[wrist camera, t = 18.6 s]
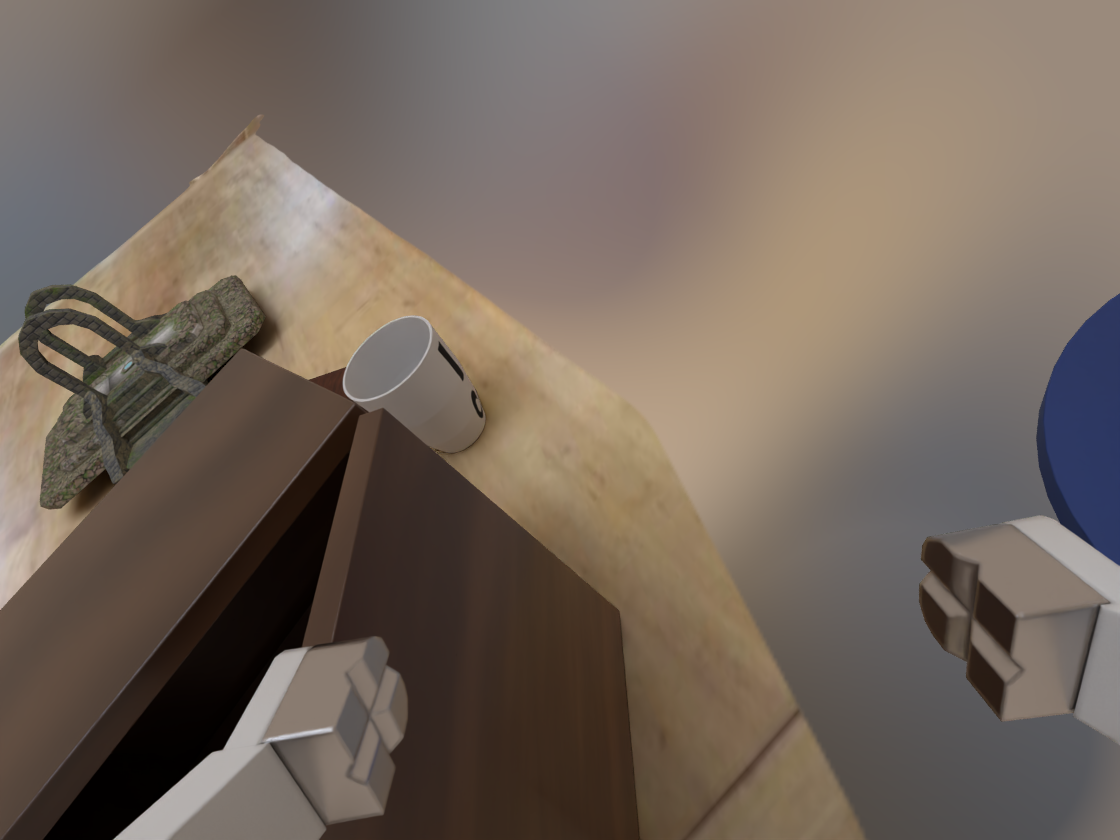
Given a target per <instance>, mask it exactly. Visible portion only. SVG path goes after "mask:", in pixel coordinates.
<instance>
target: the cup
mask: <svg viewBox="0 0 1120 840" xmlns="http://www.w3.org/2000/svg"><path fill="white" fill-rule="evenodd" d="M343 389H344V392H345V394H346V395H347V396H348V397H349V398H350V399H351V400H353V401H354V402H356V403H357V404H358V405H360V406H361V407H363V408H364V409H365V410H367V411H368V412H372V411H374V410H377V409H380V408H385V409H386V410H387V411H388V412H389V413H390V414H391V415H393V416H394V417H395V418H396V419H397V420H398V421H400V422H401V423H402V424H403V425H404V426H405V427H407V428H408V429H409V430H410V431H411V432H412V433H414V434H415V435H416V436H417V437H418V438H419V439H420V440H422V441H423V442H424V443H425V444H426V445H427V446H429V447H432V448H435V449H438V450H441V451H444V452H447V453H456V452H459V451H462V450H464V449H466V448H467V447H469V446H470V445H471V444H473V443H474V442H475V441H476V440H477V438H478V437H479V436H480V434H481V433H482V431H483V428H484V426H485V421H486V416H485V412H484V410H483V407H482V404H481V402H480V399H479V397H478V394H477V391H476V389H475V388H474V386H473V384H472V382H471V381H470V379H469V377H468V376H467V374H466V372H465V371H464V369H463V367H462V366H461V364H460V362H459V361H458V359H457V358H456V356H455V355H454V354H453V353H452V351H451V350H450V349H449V347H448V346H447V345H446V344H445V342H444V341H443V340H442V338H441V337H440V336H439V335H438V333H437V332H436V331H435V329H434V328H433V327H432V326H431V324H430V323H429V322H428V321H427V320H426V319H425V318H423V317H420V316H405V317H401V318H398V319H395V320H393V321H391V322H389V323H387V324H385V325H384V326H382V327H381V328H379V329H378V330H376V331H375V332H374V333H373V334H371V335H370V336H369V337H368V338H367V339H366V340H365V341H364V342H363V343H362V344H361V345H360V347H359V348H358V349H357V350H356V352H355V353H354V354H353V356H352V358H351V359H350V361H349V363H348V365H347V367H346V370H345V373H344V377H343Z"/></svg>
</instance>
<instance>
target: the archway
mask: <svg viewBox="0 0 1120 840" xmlns="http://www.w3.org/2000/svg"><path fill="white" fill-rule="evenodd" d="M61 299H76V300H79V301H82V302H86V303H89V304H91V305H92V306H94V307H95V308H97V309H98V310H100V311H101V312H103V313H104V314H106V315H107V316H109V317H110V318H112V319H113V320H115V321H116V322H118V323H119V324H121V325H122V326H124V327H125V328H127V329H128V330H129V331H131V332H132V333H131V334H130V335H129V336H128V337H125V336H124V335H122V334H121V333H120V332H118V331H117V330H115V329H114V328H112V327H111V326H109V325H108V324H106V323H105V322H103V321H102V320H100V319H99V318H97V317H95V316H92V315H89V314H85V313H82V312H79V311H76V310H73V309H49V310H46V311H44V309H45V306H46V304H49V303H52V302H55V301H58V300H61ZM25 318H26V319H25V321H24V323H23V326H22V328H21V331H20V333H19V337H18V340H19V348H20V354H21V355H22V357H23V358H24V359H25V360H26V361H27V362H28V363H29V364H30V366H31V367H32V368H33V369H34V370H35V371H36V372H37V373H39V374H40V375H42V376H44V377H46V378H48V379H50V380H51V381H53V382H55V383H57V384H59V385H61V386H62V387H64V388H66V389H68V390H70V391H72V392H73V393H75V394H73V395H72V396H71V397H70V398H69V399H68V401H67V402H66V403H65V405H64V406H63V412H62V413H61V415H60V416H59V418H58V421H57V422H56V424H55V425H54V427H53V428H52V430H51V431H50V432H49V434H48V435H47V437H46V444H45V454H44V464H43V474H42V484H41V494H40V505H41V507H44V508H47V509H59V508H62V507H63V506H64V505H65V504H66V503H68V502H69V501H70V500H71V499H72V498H73V497H74V496H75V495H77V494H78V493H79V492H80V491H81V490H82V489H83V488H84V487H86V486H87V485H88V484H89V483H90V482H91V481H92V480H93V479H95V478H96V477H97V476H98V475H99V474H100V473H101V472H102V471H104V470H105V469H106V470H107V472H108V474H109V476H110V478H111V481H112V483H113V484H117V483H118V482H119V481H120V479H121V478H122V477H123V476H124V475H125V474H126V473H127V472H128V471H129V470H130V469H131V468H132V466H133V465H134V464H135V463H136V462H137V461H138V460H139V459H140V458H141V457H142V456H143V454H144V453H145V452H146V451H147V450H148V449H149V448H150V447H151V446H152V445H153V444H154V442H155V441H156V440H157V439H158V438H159V437H160V436H161V435H162V434H163V433H164V432H165V431H166V429H167V428H168V427H169V426H170V425H171V424H172V423H173V422H174V421H175V420H176V419H177V417H178V416H179V415H180V414H181V413H182V412H183V411H184V410H185V409H186V408H187V407H188V405H189V404H190V403H191V402H192V401H193V400H194V399H195V398H196V397H197V396H198V395H199V394H200V392H201V391H202V390H203V389H204V388H205V387H206V386H207V385H208V382H207V378H208V377H209V376H210V375H212V374H213V373H214V372H215V371H216V370H217V369H218V368H219V367H220V366H222V365H223V364H224V363H225V362H226V361H227V360H228V359H229V358H230V357H232V356H233V355H234V354H235V353H236V352H237V351H238V350H239V349H240V348H241V347H243V346H244V345H245V344H246V343H247V342H248V341H249V340H250V339H251V338H253V337H254V336H255V335H256V334H257V333H258V332H259V329H260V327H261V325H262V323H263V321H264V319H265V315H264V314H263V312H262V311H261V309H260V308H259V306H258V305H257V303H256V302H255V300H254V299H253V297H252V296H251V294H250V293H249V291H248V290H247V288H246V287H245V285H244V284H243V282H242V281H241V280H240V279H239V278H238V277H237V276H230V277H227V278H224V279H221V280H220V281H219V282H218V283H216V284H215V285H214V286H213V287H211V288H210V289H209V290H205V291H203V292H200V293H197V294H196V295H195V296H194V297H192V298H191V299H190V300H189V301H184V302H181V303H179V304H178V305H176V306H175V307H174V308H173V309H172V310H171V311H169V312H168V313H166V314H162V315H155V316H151V317H148V318H145V319H142V320H133V319H132V318H131V317H129V316H128V315H126V314H125V313H123V312H122V311H121V310H119V309H118V308H116V307H115V306H113V305H112V304H111V303H109V302H108V301H106V300H105V299H103V298H102V297H101V296H99V295H98V294H96V293H94V292H91V291H88V290H86V289H83V288H80V287H77V286H74V285H51V286H48V287H45V288H42V289H39V290H36V291H34V292H32V293H31V295H30V297H29V300H28V302H27V304H26V307H25ZM69 324H74V325H77V326H81V327H84V328H87V329H90V330H92V331H93V332H95V333H97V334H98V335H100V336H101V337H103V338H104V339H106V340H108V341H109V342H111V343H112V344H114V345H116V347H115V348H114V349H113V350H112V351H111V352H109V353H108V354H107V355H106V356H105V357H104V358H101V357H100V356H99V355H92V356H87V355H86V354H84V353H83V352H81V351H79V350H78V349H76V348H75V347H73V346H71V345H70V344H68V343H66V342H65V341H63V340H62V339H60V338H58V337H57V336H55V335H54V334H52V333H51V332H50V331H49V330H48V329H49V328H52V327H55V326H58V325H69ZM38 340H39V341H40V342H41V343H43V344H44V345H46V346H48V347H50V348H51V349H53V350H55V351H56V352H58V353H60V354H62V355H63V356H65V357H67V358H68V359H70V360H72V361H74V362H75V363H77V364H79V365H80V366H82V367H84V371H83V382H82V381H80V380H79V379H77V378H75V377H74V376H72V375H70V374H69V373H67V372H65V371H63V370H62V369H60V368H58V367H57V366H55V365H53V364H51V363H50V362H48V361H47V360H46V359H45V357H44V356H43V355H42V354H41V353H40V352H39V350H38Z"/></svg>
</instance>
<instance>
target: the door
mask: <svg viewBox="0 0 1120 840" xmlns="http://www.w3.org/2000/svg"><path fill="white" fill-rule="evenodd" d="M371 636H376V637H381V638H382V639H383V641H384V643H385V645H386V646H387V648H388V650H389V652H390V654H389V657H388V660H387V664H386V665H387V666H389V667H391V668H392V669H394V670H396V671H397V672H399V673H400V675H401V677H402V679H403V681H404V683H405V686H406V691H407V695H408V721H407V726H406V730H405V734H404V738H403V739H402V740H401V742H400V743H399V744H398V745H397V746H396V747H395V749H394V750H393V751H392V752H391V753H390V756H391V758H392V760H393V762H394V764H395V766H396V769H395V773H394V777H393V781H392V784H391V788H390V792H389V796H388V800H387V804H386V807H385V811H384V815H379V816H374V817H368V818H363V819H357V820H352V821H346V822H341V823H336V824H330V825H325V826H326V831H325V832H324V833H323V835H322V836H321V837H320V839H319V840H639V831H638V819H637V808H636V797H635V785H634V774H633V763H632V752H631V740H630V729H629V718H628V706H627V695H626V684H625V672H624V661H623V650H622V638H621V627H620V616H619V610H618V609H616V608H615V607H614V606H613V605H612V604H611V603H609V602H608V601H607V600H606V599H605V598H604V597H602V596H601V595H600V594H599V593H598V592H597V591H596V590H594V589H593V588H592V587H591V586H590V585H589V584H587V583H586V582H585V581H584V580H583V579H582V578H580V577H579V576H578V575H577V574H576V573H575V572H573V571H572V570H571V569H570V568H569V567H568V566H567V565H565V564H564V563H563V562H562V561H561V560H560V559H558V558H557V557H556V556H555V555H554V554H553V553H551V552H550V551H549V550H548V549H547V548H546V547H545V546H543V545H542V544H541V543H540V542H539V541H538V540H536V539H535V538H534V537H533V536H532V535H531V534H529V533H528V532H527V531H526V530H525V529H524V528H522V527H521V526H520V525H519V524H518V523H517V522H516V521H514V520H513V519H512V518H511V517H510V516H509V515H507V514H506V513H505V512H504V511H503V510H502V509H500V508H499V507H498V506H497V505H496V504H495V503H493V502H492V501H491V500H490V499H489V498H488V497H487V496H485V495H484V494H483V493H482V492H481V491H480V490H478V489H477V488H476V487H475V486H474V485H473V484H471V483H470V482H469V481H468V480H467V479H466V478H465V477H463V476H462V475H461V474H460V473H459V472H458V471H456V470H455V469H454V468H453V467H452V466H451V465H449V464H448V463H447V462H446V461H445V460H444V459H442V458H441V457H440V456H439V455H438V454H437V453H436V452H434V451H433V450H432V449H431V448H430V447H429V446H427V445H426V444H425V443H424V442H423V441H422V440H420V439H419V438H418V437H417V436H416V435H415V434H414V433H412V432H411V431H410V430H409V429H408V428H407V427H405V426H404V425H403V424H402V423H401V422H400V421H398V420H397V419H396V418H395V417H394V416H393V415H391V414H390V413H389V412H388V411H387V410H386V409H385V408H380V409H377V410H374V411H372V412H369V413H366V414H363V415H360V416H359V419H358V423H357V427H356V431H355V435H354V439H353V443H352V447H351V451H350V455H349V459H348V463H347V467H346V471H345V475H344V479H343V483H342V487H341V491H340V495H339V499H338V503H337V507H336V511H335V515H334V519H333V523H332V527H331V531H330V535H329V539H328V543H327V547H326V552H325V556H324V560H323V564H322V568H321V572H320V576H319V580H318V584H317V588H316V592H315V596H314V600H313V604H312V608H311V612H310V616H309V620H308V624H307V628H306V632H305V636H304V640H303V644H302V648H304V647H311V646H314V645H318V644H325V643H331V642H338V641H344V640H351V639H357V638H364V637H371Z"/></svg>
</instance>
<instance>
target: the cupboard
mask: <svg viewBox="0 0 1120 840" xmlns="http://www.w3.org/2000/svg"><path fill="white" fill-rule="evenodd" d="M366 413H367V412H366V411H365V410H364V409H362V408H361V407H360V406H359V405H358V404H356V403H354V402H352V401H350V400H348V399H346V398H344V397H342V396H340V395H338V394H336V393H334V392H332V391H330V390H327V389H325V388H323V387H321V386H319V385H317V384H315V383H313V382H311V381H309V380H307V379H305V378H303V377H301V376H299V375H297V374H294V373H292V372H290V371H288V370H286V369H284V368H282V367H280V366H278V365H276V364H274V363H272V362H270V361H268V360H266V359H264V358H261V357H259V356H257V355H255V354H253V353H251V352H249V351H247V350H245V349H243V348H241V349H240V350H239V351H238V352H237V353H236V354H235V355H234V357H233V358H232V359H231V360H230V361H229V362H228V363H227V364H226V365H225V366H224V367H223V368H222V370H221V371H220V372H219V373H218V374H217V375H216V376H215V377H214V378H213V379H212V380H211V382H210V383H209V384H208V385H207V386H206V387H205V388H204V389H203V390H202V391H201V392H200V394H199V395H198V396H197V397H196V398H195V399H194V400H193V401H192V402H191V403H190V404H189V405H188V407H187V408H186V409H185V410H184V411H183V412H182V413H181V414H180V415H179V416H178V417H177V419H176V420H175V421H174V422H173V423H172V424H171V425H170V426H169V427H168V428H167V429H166V431H165V432H164V433H163V434H162V435H161V436H160V437H159V438H158V439H157V440H156V441H155V442H154V444H153V445H152V446H151V447H150V448H149V449H148V450H147V451H146V452H145V453H144V454H143V456H142V457H141V458H140V459H139V460H138V461H137V462H136V463H135V464H134V465H133V466H132V468H131V469H130V470H129V471H128V472H127V473H126V474H125V475H124V476H123V477H122V478H121V479H120V481H119V482H118V483H117V484H116V485H115V486H114V487H113V488H112V489H111V490H110V491H109V493H108V494H107V495H106V496H105V497H104V498H103V499H102V500H101V501H100V502H99V503H98V505H97V506H96V507H95V508H94V509H93V510H92V511H91V512H90V513H89V514H88V515H87V516H86V518H85V519H84V520H83V521H82V522H81V523H80V524H79V525H78V526H77V527H76V528H75V530H74V531H73V532H72V533H71V534H70V535H69V536H68V537H67V538H66V539H65V540H64V542H63V543H62V544H61V545H60V546H59V547H58V548H57V549H56V550H55V551H54V552H53V553H52V555H51V556H50V557H49V558H48V559H47V560H46V561H45V562H44V563H43V564H42V565H41V567H40V568H39V569H38V570H37V571H36V572H35V573H34V574H33V575H32V576H31V577H30V579H29V580H28V581H27V582H26V583H25V584H24V585H23V586H22V587H21V588H20V589H19V590H18V592H17V593H16V594H15V595H14V596H13V597H12V598H11V599H10V600H9V601H8V602H7V604H6V605H5V606H4V607H3V608H2V609H1V610H0V840H113V839H114V838H116V837H117V836H118V835H119V834H120V833H121V832H122V831H123V830H125V829H126V828H127V827H128V826H129V825H130V824H131V823H133V822H134V821H135V820H136V819H137V818H138V817H139V816H140V815H142V814H143V813H144V812H145V811H146V810H147V809H148V808H150V807H151V806H152V805H153V804H154V803H155V802H156V801H158V800H159V799H160V798H161V797H162V796H163V795H164V794H165V793H167V792H168V791H169V790H170V789H171V788H172V787H173V786H175V785H176V784H177V783H178V782H179V781H180V780H181V779H182V778H184V777H185V776H186V775H187V774H188V773H189V772H190V771H192V770H193V769H194V768H195V767H196V766H197V765H198V764H199V763H201V762H202V761H203V760H204V759H205V758H206V757H207V756H209V755H210V754H211V753H212V752H216V751H221V750H223V749H224V747H225V745H226V744H227V742H228V740H229V738H230V736H231V735H232V733H233V731H234V729H235V728H236V726H237V724H238V722H239V720H240V719H241V717H242V715H243V713H244V712H245V710H246V708H247V706H248V704H249V703H250V701H251V699H252V697H253V696H254V694H255V692H256V690H257V688H258V687H259V685H260V683H261V681H262V680H263V678H264V676H265V674H266V672H267V671H268V669H269V667H270V665H271V664H272V662H273V660H274V658H275V657H276V656H278V655H279V654H280V653H282V652H283V651H284V650H290V649H297V648H302V644H303V640H304V636H305V632H306V628H307V624H308V620H309V616H310V612H311V608H312V604H313V600H314V596H315V592H316V588H317V584H318V580H319V576H320V572H321V568H322V564H323V560H324V556H325V552H326V547H327V543H328V539H329V535H330V531H331V527H332V523H333V519H334V515H335V511H336V507H337V503H338V499H339V495H340V491H341V487H342V483H343V479H344V475H345V471H346V467H347V463H348V459H349V455H350V451H351V447H352V443H353V439H354V435H355V431H356V427H357V423H358V419H359V416H360V415H363V414H366Z"/></svg>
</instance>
